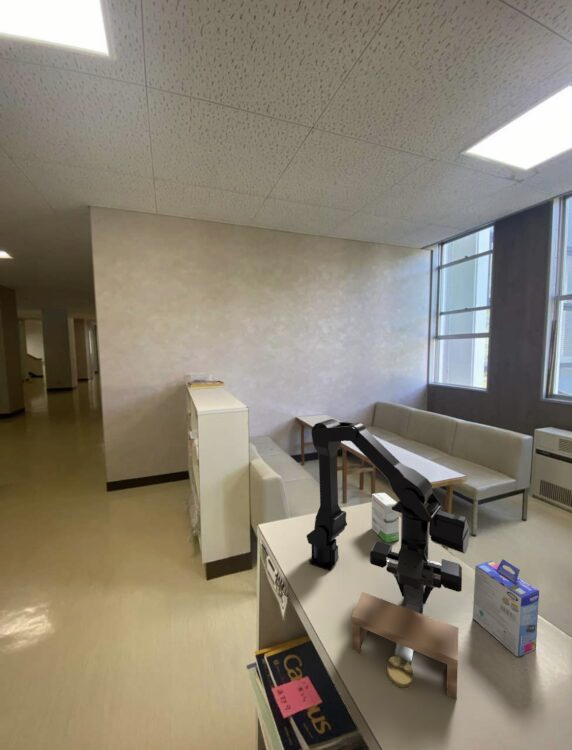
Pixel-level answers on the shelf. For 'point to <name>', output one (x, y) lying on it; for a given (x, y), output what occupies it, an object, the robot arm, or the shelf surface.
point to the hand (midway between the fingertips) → (413, 599)
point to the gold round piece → (400, 672)
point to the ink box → (385, 517)
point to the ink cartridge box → (506, 606)
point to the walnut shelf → (407, 632)
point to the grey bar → (414, 603)
